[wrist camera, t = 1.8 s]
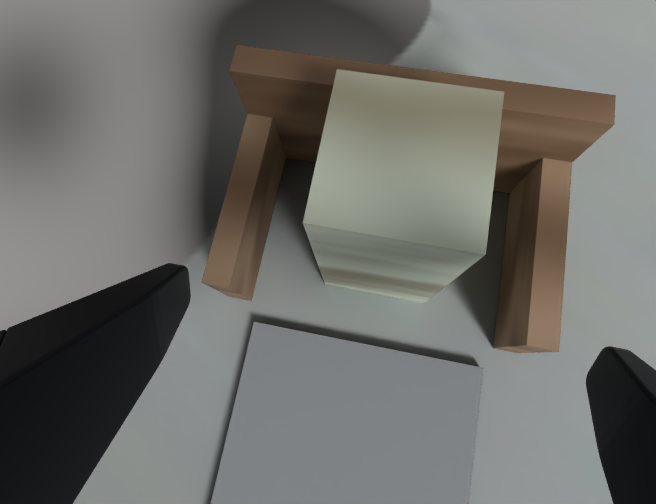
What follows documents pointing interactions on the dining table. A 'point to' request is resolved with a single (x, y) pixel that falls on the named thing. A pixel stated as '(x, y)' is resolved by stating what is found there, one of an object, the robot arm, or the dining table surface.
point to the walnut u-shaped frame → (510, 177)
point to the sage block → (402, 184)
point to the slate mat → (347, 424)
